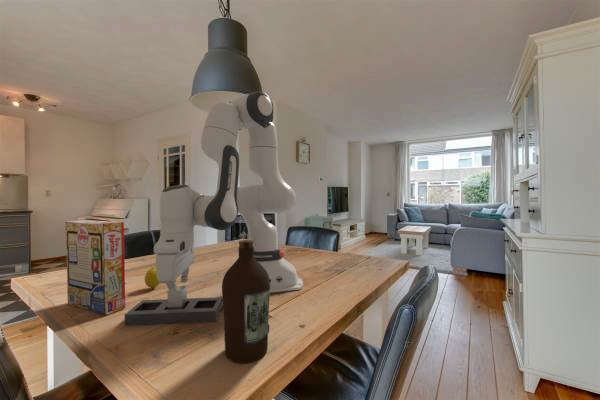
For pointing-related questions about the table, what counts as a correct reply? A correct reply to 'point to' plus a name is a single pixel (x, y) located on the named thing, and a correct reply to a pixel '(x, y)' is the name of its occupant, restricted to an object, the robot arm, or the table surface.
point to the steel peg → (178, 298)
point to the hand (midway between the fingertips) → (179, 287)
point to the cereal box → (95, 265)
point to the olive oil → (246, 307)
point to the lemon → (151, 278)
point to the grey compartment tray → (174, 312)
